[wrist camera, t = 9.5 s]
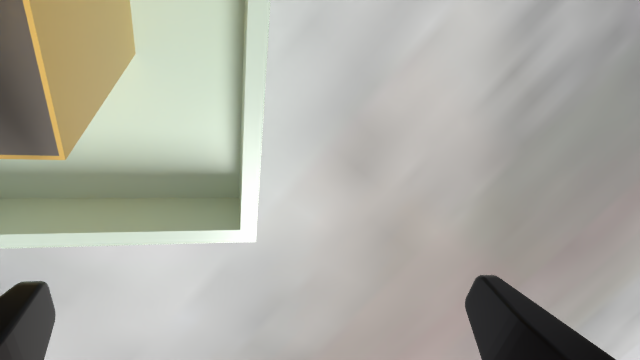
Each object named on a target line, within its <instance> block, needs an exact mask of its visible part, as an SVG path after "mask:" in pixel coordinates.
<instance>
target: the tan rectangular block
mask: <svg viewBox="0 0 640 360" xmlns="http://www.w3.org/2000/svg"><path fill="white" fill-rule="evenodd" d="M135 54H136V52H135V43H134V34H133V24H132V15H131V6H130V0H0V159H30V160H66V159H67V157H68V156H69V154H70V153H71V151H72V150H73V148H74V146H75V145H76V143H77V142H78V140H79V139H80V137H81V136H82V134H83V133H84V131H85V130H86V128H87V127H88V125H89V124H90V122H91V121H92V119H93V118H94V116H95V115H96V113H97V112H98V110H99V109H100V107H101V106H102V104H103V103H104V101H105V100H106V98H107V97H108V95H109V93H110V92H111V90H112V89H113V87H114V86H115V84H116V83H117V81H118V80H119V78H120V77H121V75H122V74H123V72H124V71H125V69H126V68H127V66H128V65H129V63H130V62H131V60H132V59H133V57H134V56H135Z"/></svg>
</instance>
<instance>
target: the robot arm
mask: <svg viewBox="0 0 640 360" xmlns="http://www.w3.org/2000/svg"><path fill="white" fill-rule="evenodd" d="M465 308H466V312H467V315H468V318H469V321H470V324H471V327H472V330H473V334H474V337H475V340H476V343H477V346H478V349H479V352H480V355H481V358H482V360H616V359H614V358H613V357H611V356H610V355H609V354H607V353H606V352H604V351H603V350H601V349H600V348H599V347H597V346H596V345H594V344H593V343H591V342H590V341H589V340H587V339H586V338H584V337H583V336H581V335H580V334H579V333H577V332H576V331H574V330H573V329H572V328H570V327H569V326H567V325H566V324H564V323H563V322H562V321H560V320H559V319H557V318H556V317H554V316H553V315H552V314H550V313H549V312H547V311H546V310H544V309H543V308H542V307H540V306H539V305H537V304H536V303H534V302H533V301H532V300H530V299H529V298H527V297H526V296H524V295H523V294H522V293H520V292H519V291H517V290H516V289H515V288H513V287H512V286H510V285H509V284H507V283H506V282H505V281H503V280H502V279H500V278H499V277H497V276H494V275H480V276H478V277H477V278H476V279H475V281H474V283H473V285H472V287H471V289H470V291H469V293H468V295H467V297H466V300H465ZM54 322H55V308H54V305H53V301H52V298H51V294H50V290H49V287H48V285H47V284H46V283H45V282H42V281H34V282H20V283H18V284H16V285H15V286H13V287H12V288H11V289H9V290H8V291H7V292H5V293H4V294H3V295H2V296H0V360H44V357H45V354H46V351H47V347H48V344H49V340H50V337H51V333H52V330H53V326H54Z"/></svg>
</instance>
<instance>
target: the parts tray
mask: <svg viewBox="0 0 640 360" xmlns="http://www.w3.org/2000/svg"><path fill="white" fill-rule="evenodd" d="M130 6H131V15H132V24H133V34H134V43H135V52H136V54H135V56H134V57H133V59H132V60H131V62H130V63H129V65H128V66H127V68H126V69H125V71H124V72H123V74H122V75H121V77H120V78H119V80H118V81H117V83H116V84H115V86H114V87H113V89H112V90H111V92H110V93H109V95H108V97H107V98H106V100H105V101H104V103H103V104H102V106H101V107H100V109H99V110H98V112H97V113H96V115H95V116H94V118H93V119H92V121H91V122H90V124H89V125H88V127H87V128H86V130H85V131H84V133H83V134H82V136H81V137H80V139H79V140H78V142H77V143H76V145H75V146H74V148H73V150H72V151H71V153H70V154H69V156H68V157H67V159H66V160H30V159H0V249H3V248H41V247H79V246H118V245H156V244H194V243H232V242H256V233H257V216H258V199H259V183H260V166H261V150H262V133H263V116H264V100H265V83H266V66H267V50H268V33H269V17H270V0H130Z"/></svg>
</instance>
